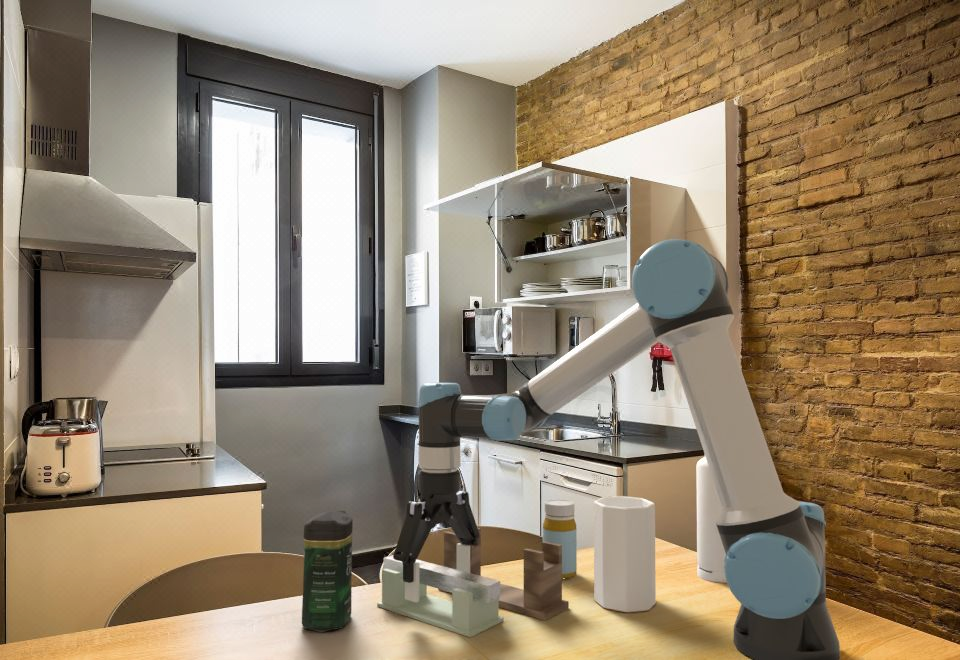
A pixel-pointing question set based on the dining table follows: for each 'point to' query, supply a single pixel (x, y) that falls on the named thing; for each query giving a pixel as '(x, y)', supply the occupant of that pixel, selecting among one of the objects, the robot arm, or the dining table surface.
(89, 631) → the dining table surface
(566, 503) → the bottle
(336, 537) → the coffee jar
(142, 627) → the dining table surface
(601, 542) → the cup
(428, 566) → the rail
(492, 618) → the rest
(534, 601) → the rack
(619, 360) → the robot arm
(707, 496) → the bottle
